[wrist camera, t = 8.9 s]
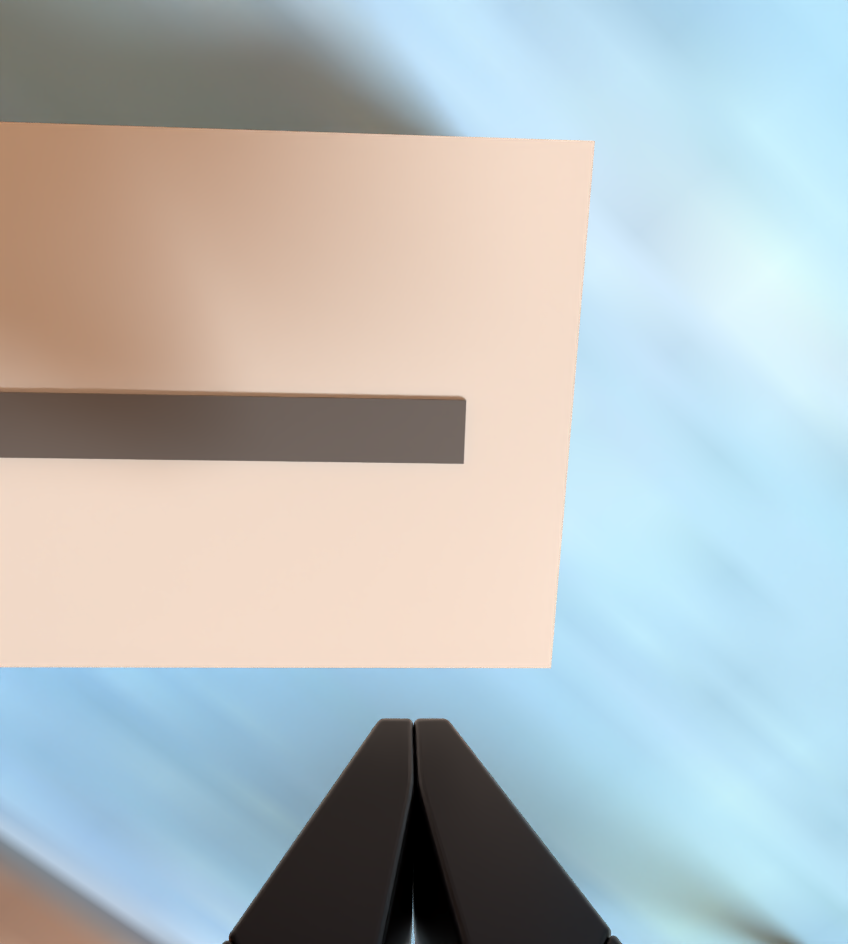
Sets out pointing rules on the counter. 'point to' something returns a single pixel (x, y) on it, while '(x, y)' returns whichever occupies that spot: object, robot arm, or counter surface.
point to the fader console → (285, 396)
